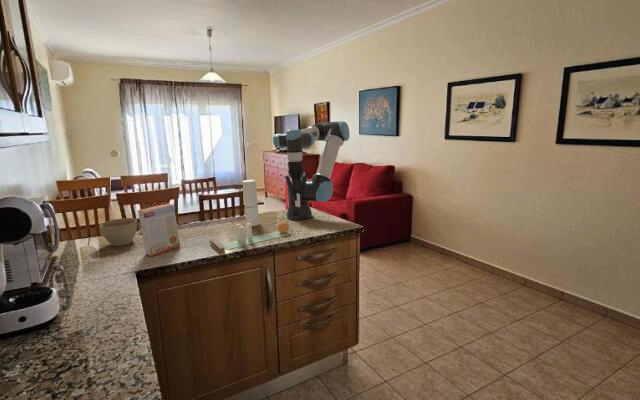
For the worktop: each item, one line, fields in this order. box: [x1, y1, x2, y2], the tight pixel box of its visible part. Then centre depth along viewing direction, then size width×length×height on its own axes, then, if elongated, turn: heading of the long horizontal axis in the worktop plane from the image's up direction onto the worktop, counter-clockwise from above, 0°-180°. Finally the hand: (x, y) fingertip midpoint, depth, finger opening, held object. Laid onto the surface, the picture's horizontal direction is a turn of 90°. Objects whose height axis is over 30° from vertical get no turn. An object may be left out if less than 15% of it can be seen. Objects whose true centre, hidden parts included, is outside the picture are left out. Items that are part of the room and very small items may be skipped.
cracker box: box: [137, 203, 181, 257], centre depth 156 cm, size 14×6×21 cm, turn 141°
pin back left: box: [239, 225, 247, 246], centre depth 161 cm, size 2×2×8 cm
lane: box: [220, 230, 293, 250], centre depth 168 cm, size 34×9×1 cm, turn 123°
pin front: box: [245, 223, 254, 241], centre depth 165 cm, size 2×2×8 cm
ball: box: [276, 221, 290, 234], centre depth 175 cm, size 6×6×6 cm
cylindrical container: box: [242, 179, 260, 227], centre depth 191 cm, size 7×7×25 cm
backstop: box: [209, 238, 226, 254], centre depth 158 cm, size 2×16×2 cm, turn 33°
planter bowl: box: [99, 217, 138, 247], centre depth 171 cm, size 16×16×11 cm
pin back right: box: [235, 223, 242, 242], centre depth 165 cm, size 2×2×8 cm
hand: (297, 206), depth 178 cm, fingers closed
